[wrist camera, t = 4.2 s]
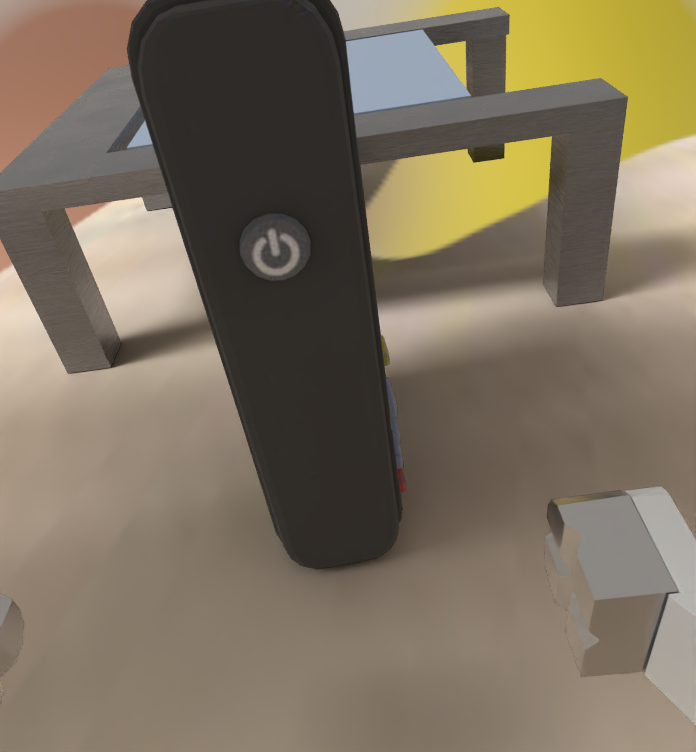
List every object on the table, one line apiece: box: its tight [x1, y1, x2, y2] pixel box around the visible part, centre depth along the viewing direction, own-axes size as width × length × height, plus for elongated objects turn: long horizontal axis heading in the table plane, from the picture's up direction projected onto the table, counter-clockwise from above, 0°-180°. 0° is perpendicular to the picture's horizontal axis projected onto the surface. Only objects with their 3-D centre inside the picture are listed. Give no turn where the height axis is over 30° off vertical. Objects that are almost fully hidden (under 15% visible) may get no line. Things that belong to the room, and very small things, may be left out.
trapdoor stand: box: [0, 7, 628, 373], centre depth 34 cm, size 24×20×8 cm
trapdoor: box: [127, 29, 471, 150], centre depth 32 cm, size 14×14×1 cm
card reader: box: [127, 0, 406, 569], centre depth 18 cm, size 9×4×15 cm, turn 8°
